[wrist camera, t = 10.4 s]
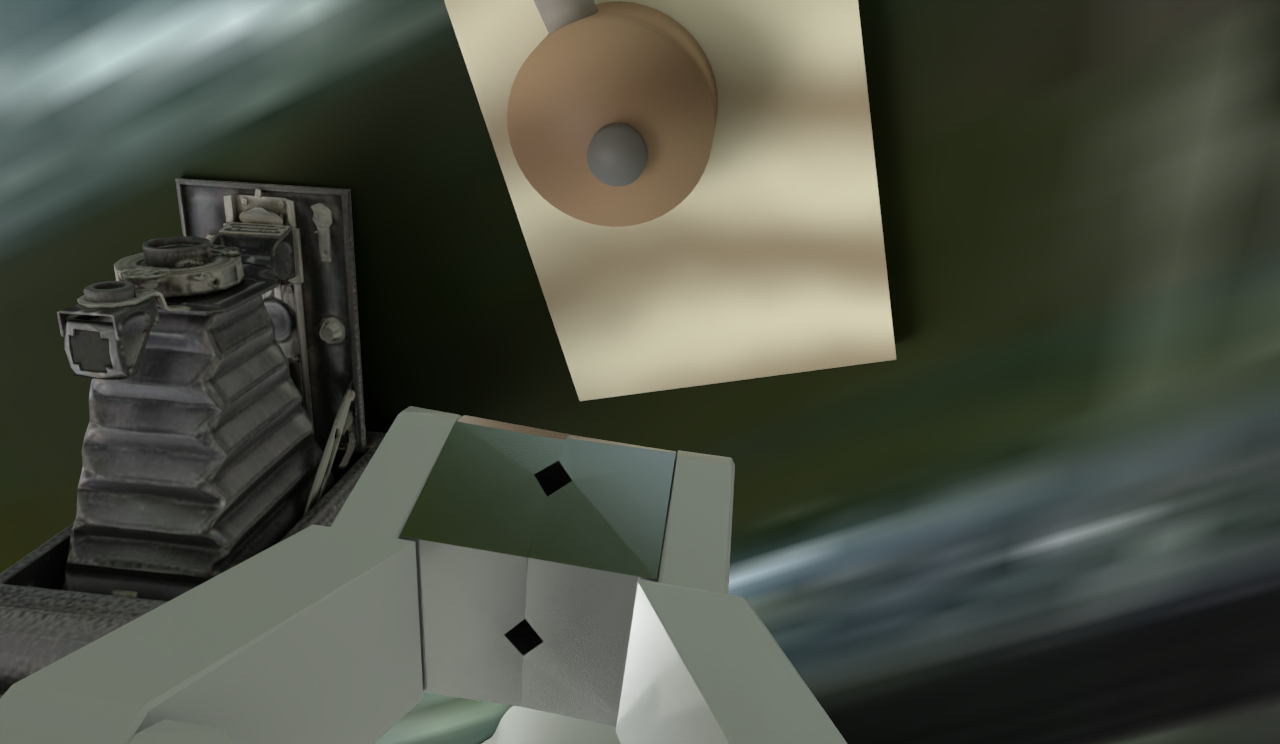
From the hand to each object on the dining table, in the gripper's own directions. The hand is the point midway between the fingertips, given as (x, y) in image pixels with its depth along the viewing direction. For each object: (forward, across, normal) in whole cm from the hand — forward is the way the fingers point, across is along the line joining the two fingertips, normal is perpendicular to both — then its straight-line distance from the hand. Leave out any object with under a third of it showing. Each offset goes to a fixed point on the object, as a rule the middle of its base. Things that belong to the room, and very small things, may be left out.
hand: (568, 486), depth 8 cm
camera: (+27, +18, +18) cm, 37 cm away
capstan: (+26, +4, +2) cm, 26 cm away
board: (+27, +1, +5) cm, 28 cm away
